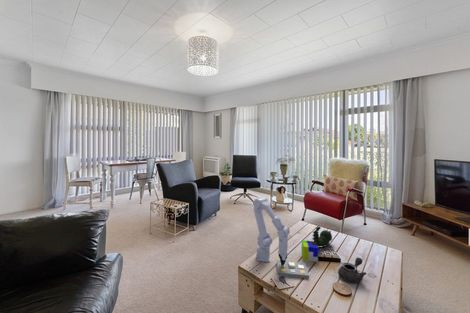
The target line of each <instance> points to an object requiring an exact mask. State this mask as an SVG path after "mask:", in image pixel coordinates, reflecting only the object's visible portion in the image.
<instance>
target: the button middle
mask: <svg viewBox="0 0 470 313" xmlns="http://www.w3.org/2000/svg"><path fill="white" fill-rule="evenodd" d="M293 262H294V261H291V262H289V268H295V264H294V263H293Z"/></svg>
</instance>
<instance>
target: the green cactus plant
mask: <svg viewBox="0 0 470 313" xmlns="http://www.w3.org/2000/svg"><path fill="white" fill-rule="evenodd" d="M320 230H321V226H319V225H318V226H316V228H315V230H314V231H313V232H312V233H313V234H312V241H314V242H316V243H317V246H324V247H327V246H328V244H330V242H331V241H332V240H333V235H332V231H331V230H325V229H324V230H321V232H320V233H319V231H320ZM325 245H326V246H325Z"/></svg>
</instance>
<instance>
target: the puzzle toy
mask: <svg viewBox="0 0 470 313" xmlns="http://www.w3.org/2000/svg"><path fill="white" fill-rule="evenodd" d="M301 256H302V260H303V261H308V262H309V261H311V262H319V247H318V246H317V243H316V242H314V240H304V239H303V240H301Z"/></svg>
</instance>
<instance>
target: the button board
mask: <svg viewBox="0 0 470 313" xmlns="http://www.w3.org/2000/svg"><path fill="white" fill-rule="evenodd" d="M289 262H293V263H294V264H295V268H289ZM280 263H281V262H280V259H279V260H278V259H276V270H277V271H276V272H277V276H280V277H289V278H290V277H291V278H298V279H300V278H301V279H310V274H309V271H308V268H307V264H306V262H299V261H289V260H288V261H287V260H286V261H285V266H286V267H280ZM298 265H303V266H304V269H298Z"/></svg>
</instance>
